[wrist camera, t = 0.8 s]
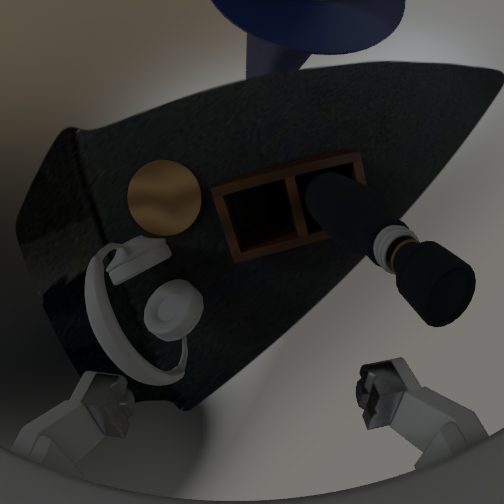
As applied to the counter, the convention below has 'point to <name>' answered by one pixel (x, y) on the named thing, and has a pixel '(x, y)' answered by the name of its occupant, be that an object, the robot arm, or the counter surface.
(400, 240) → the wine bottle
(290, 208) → the wooden compartment tray
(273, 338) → the counter surface
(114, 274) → the headphones
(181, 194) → the coaster
